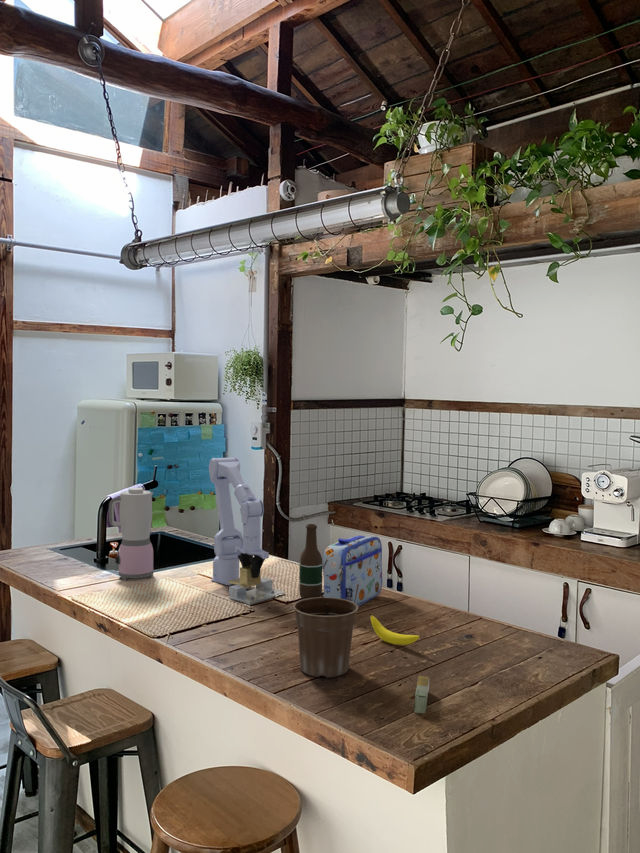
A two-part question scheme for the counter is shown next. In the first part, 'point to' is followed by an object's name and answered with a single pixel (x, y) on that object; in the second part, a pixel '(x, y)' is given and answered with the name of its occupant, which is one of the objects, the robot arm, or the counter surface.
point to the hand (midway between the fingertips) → (251, 576)
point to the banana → (391, 634)
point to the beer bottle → (310, 566)
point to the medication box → (421, 694)
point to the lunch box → (353, 569)
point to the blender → (134, 533)
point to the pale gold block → (246, 577)
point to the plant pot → (325, 635)
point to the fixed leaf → (254, 592)
